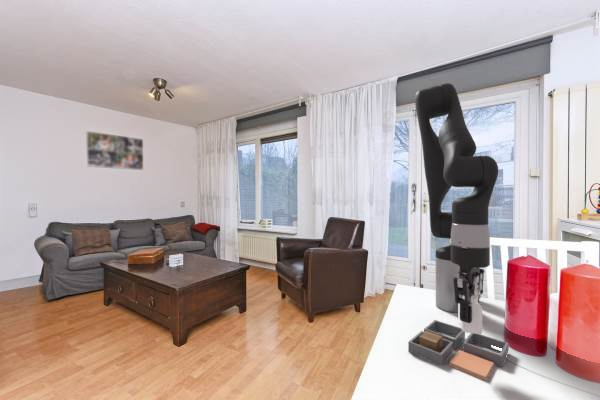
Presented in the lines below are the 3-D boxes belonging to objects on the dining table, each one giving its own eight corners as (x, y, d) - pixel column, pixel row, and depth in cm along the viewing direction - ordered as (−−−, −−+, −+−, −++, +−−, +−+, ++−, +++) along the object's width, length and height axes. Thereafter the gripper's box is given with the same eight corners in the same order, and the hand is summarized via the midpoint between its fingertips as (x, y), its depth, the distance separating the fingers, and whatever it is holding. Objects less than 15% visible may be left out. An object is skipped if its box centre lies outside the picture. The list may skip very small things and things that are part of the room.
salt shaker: (483, 335, 58) (483, 292, 58) (462, 333, 59) (462, 290, 59) (476, 327, 62) (477, 286, 62) (457, 324, 63) (457, 285, 63)
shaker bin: (472, 340, 71) (472, 331, 71) (508, 353, 65) (508, 343, 65) (462, 352, 66) (462, 342, 66) (501, 367, 60) (501, 356, 60)
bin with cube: (421, 340, 72) (421, 330, 72) (453, 352, 66) (453, 342, 66) (408, 351, 67) (408, 341, 67) (441, 365, 61) (441, 355, 61)
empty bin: (435, 328, 78) (434, 319, 78) (465, 338, 72) (465, 329, 72) (423, 338, 73) (423, 329, 73) (455, 349, 67) (455, 339, 67)
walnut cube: (425, 346, 69) (425, 330, 69) (442, 352, 66) (442, 336, 66) (419, 352, 66) (419, 336, 66) (436, 359, 64) (436, 342, 63)
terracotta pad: (459, 353, 66) (459, 350, 66) (493, 366, 60) (493, 362, 60) (449, 365, 61) (449, 362, 61) (485, 380, 56) (485, 377, 56)
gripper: (461, 238, 68) (461, 304, 68) (440, 245, 59) (440, 322, 59) (497, 242, 63) (497, 313, 63) (480, 249, 53) (480, 334, 53)
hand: (469, 317), depth 61 cm, fingers closed on salt shaker, 5 cm apart
